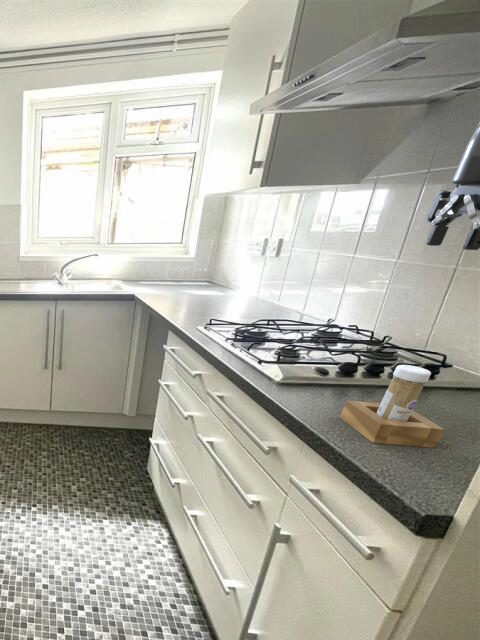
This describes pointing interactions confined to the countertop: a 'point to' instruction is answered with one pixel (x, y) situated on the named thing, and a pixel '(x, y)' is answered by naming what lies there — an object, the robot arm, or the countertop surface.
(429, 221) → the robot arm
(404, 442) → the holder
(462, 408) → the countertop surface
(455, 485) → the countertop surface
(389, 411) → the sprinkles bottle
